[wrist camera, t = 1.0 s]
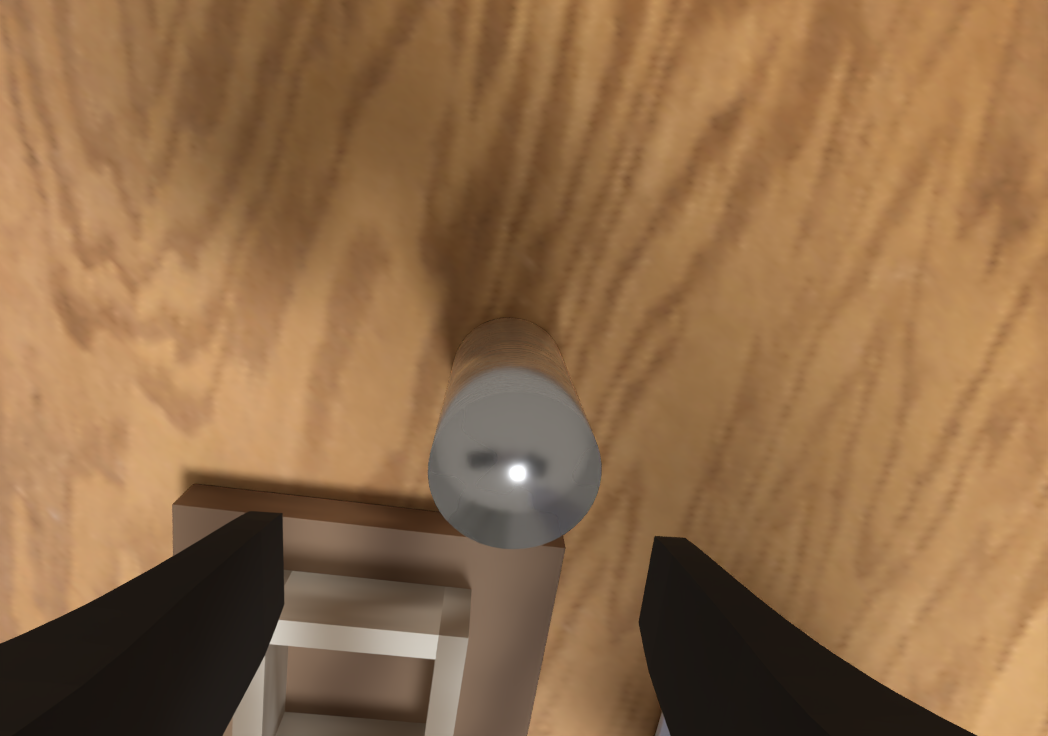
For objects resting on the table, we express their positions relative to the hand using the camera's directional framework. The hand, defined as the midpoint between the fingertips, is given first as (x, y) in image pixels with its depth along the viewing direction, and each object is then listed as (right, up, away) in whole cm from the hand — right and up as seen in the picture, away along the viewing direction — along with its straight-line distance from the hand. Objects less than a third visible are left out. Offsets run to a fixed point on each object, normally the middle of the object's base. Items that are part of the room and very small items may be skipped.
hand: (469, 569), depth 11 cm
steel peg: (0, +4, +10) cm, 10 cm away
